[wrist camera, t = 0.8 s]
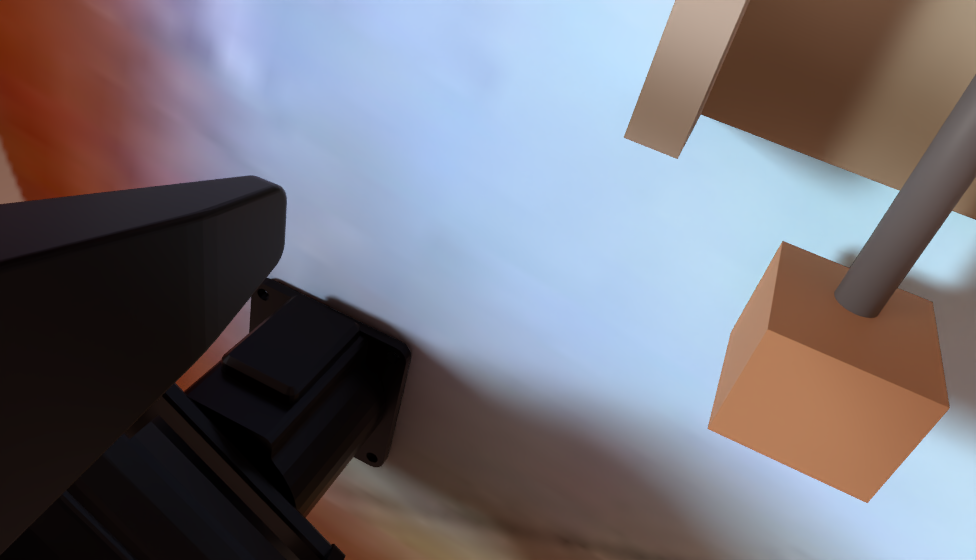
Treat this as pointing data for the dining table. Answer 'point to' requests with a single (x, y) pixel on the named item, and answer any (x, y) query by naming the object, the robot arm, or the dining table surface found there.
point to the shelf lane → (814, 78)
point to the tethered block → (849, 339)
